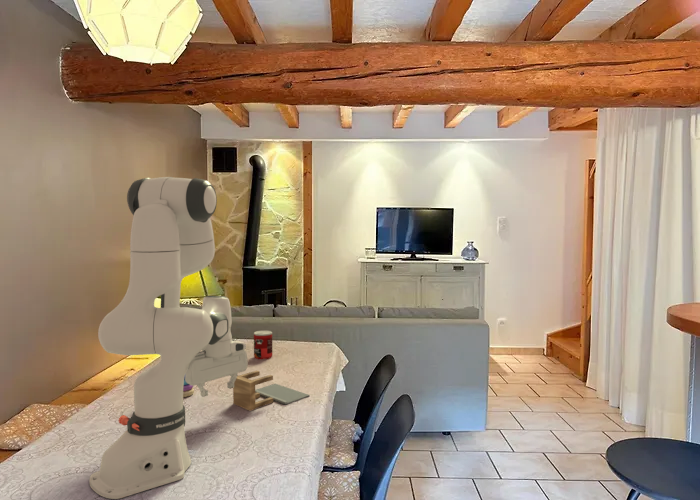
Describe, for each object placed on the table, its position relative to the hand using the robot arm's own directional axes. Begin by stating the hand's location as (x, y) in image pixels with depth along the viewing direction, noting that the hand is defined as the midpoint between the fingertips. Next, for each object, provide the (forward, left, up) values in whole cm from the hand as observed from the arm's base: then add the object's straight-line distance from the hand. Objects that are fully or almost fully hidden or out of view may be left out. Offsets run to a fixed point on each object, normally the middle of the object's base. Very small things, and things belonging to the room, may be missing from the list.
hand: (217, 391), depth 154 cm
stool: (+13, 0, -7) cm, 15 cm away
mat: (+25, 0, -7) cm, 26 cm away
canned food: (+50, +41, -8) cm, 65 cm away
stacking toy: (+2, +25, -8) cm, 26 cm away
